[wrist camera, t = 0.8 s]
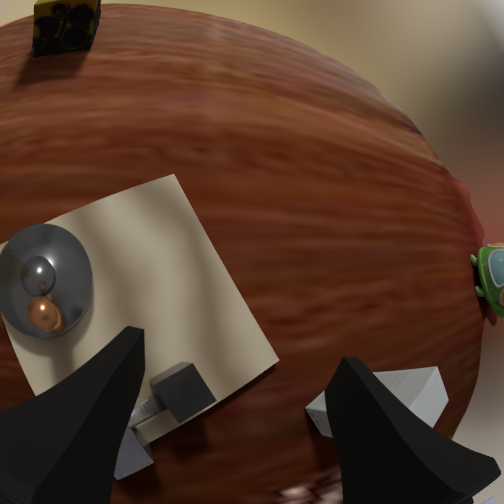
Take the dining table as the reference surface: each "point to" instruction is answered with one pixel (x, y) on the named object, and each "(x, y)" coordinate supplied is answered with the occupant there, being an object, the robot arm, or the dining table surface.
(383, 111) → the dining table surface
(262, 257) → the dining table surface
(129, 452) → the block
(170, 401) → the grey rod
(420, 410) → the skincare box
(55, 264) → the handwheel
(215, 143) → the dining table surface
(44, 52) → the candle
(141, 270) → the board
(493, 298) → the turtle holder
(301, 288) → the dining table surface
